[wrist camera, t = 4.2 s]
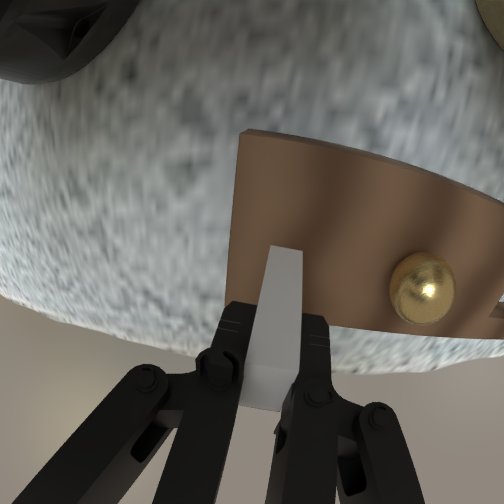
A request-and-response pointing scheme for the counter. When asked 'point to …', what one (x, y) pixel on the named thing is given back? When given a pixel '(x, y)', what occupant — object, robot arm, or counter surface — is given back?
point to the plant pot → (493, 18)
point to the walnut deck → (362, 233)
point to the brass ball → (422, 288)
